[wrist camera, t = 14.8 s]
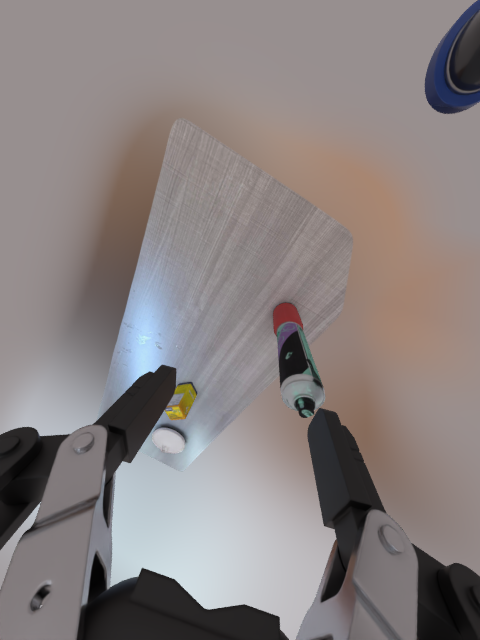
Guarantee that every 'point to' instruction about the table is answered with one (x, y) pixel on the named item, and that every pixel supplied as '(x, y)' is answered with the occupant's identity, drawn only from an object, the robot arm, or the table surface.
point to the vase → (168, 440)
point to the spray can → (298, 371)
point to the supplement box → (181, 401)
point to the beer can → (285, 315)
